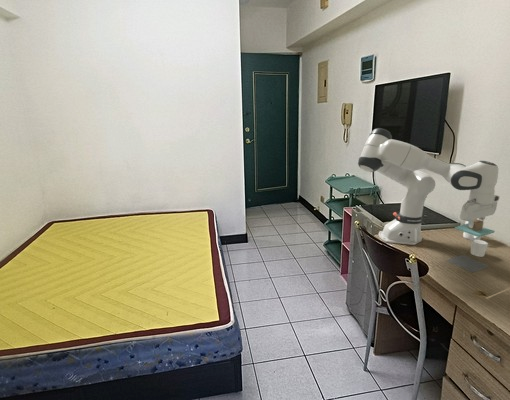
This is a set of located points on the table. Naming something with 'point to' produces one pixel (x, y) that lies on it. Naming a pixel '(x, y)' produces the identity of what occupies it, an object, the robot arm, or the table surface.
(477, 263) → the mat
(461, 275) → the table surface
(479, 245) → the shot glass
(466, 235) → the mug
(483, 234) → the lid
